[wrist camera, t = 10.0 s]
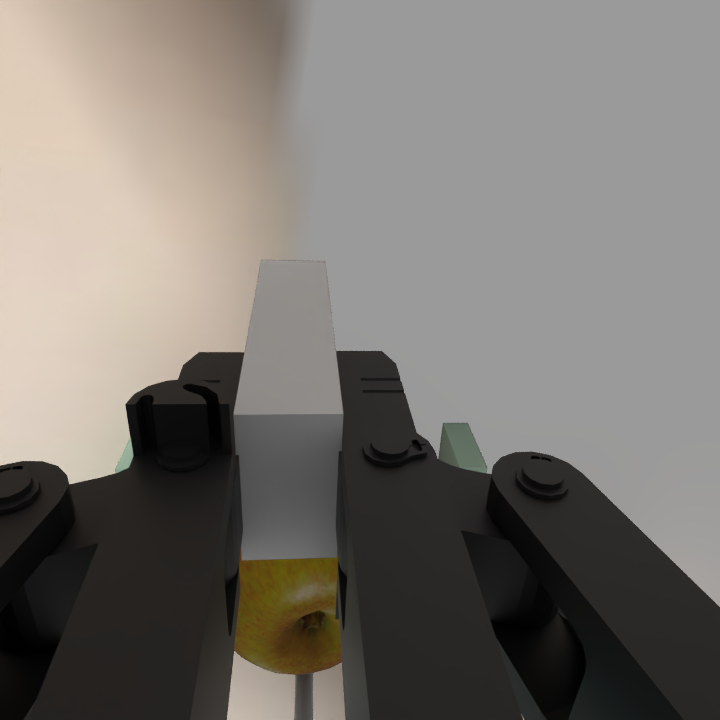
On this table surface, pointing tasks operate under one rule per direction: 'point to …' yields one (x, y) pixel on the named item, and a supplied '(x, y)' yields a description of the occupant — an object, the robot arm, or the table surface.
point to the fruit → (288, 614)
